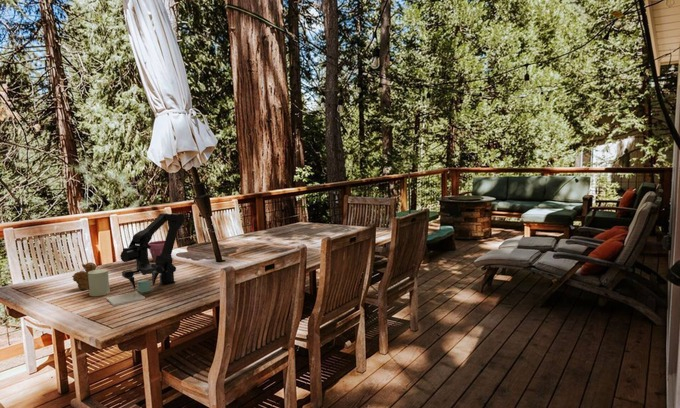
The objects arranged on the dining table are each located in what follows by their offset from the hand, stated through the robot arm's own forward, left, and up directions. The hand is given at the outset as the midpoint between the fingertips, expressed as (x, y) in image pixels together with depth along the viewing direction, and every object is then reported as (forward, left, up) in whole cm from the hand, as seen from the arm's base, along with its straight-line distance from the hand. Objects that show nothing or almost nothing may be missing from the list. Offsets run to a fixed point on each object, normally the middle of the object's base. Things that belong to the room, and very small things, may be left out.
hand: (144, 287), depth 218 cm
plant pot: (-30, -64, -2) cm, 71 cm away
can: (+18, -12, -2) cm, 22 cm away
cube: (0, 0, -2) cm, 2 cm away
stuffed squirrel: (+20, -28, -2) cm, 34 cm away
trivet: (+11, +8, -2) cm, 14 cm away
